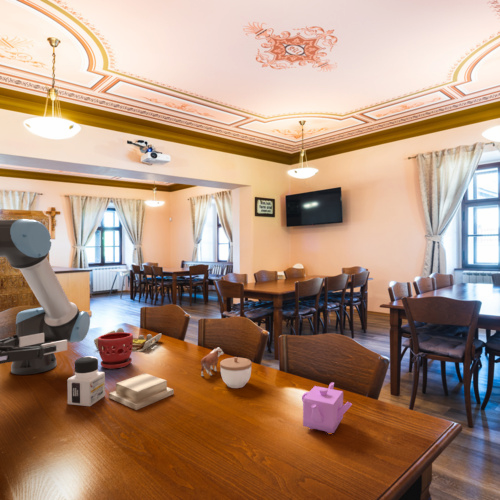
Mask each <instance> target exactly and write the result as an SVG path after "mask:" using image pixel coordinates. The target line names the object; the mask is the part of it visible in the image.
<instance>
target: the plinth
mask: <svg viewBox="0 0 500 500" xmlns="http://www.w3.org/2000/svg"><path fill="white" fill-rule="evenodd" d="M167 384H168V380H166V379H164V378H161V377H157V376H155V375H152V374H149V373H146V372H145V373H141V374H139V375H135V376H133V377H130V378H126V379H124V380H122V381H118V382H116V383H115V390H114V391H111V392H108V399H111V400H114V401H115V402H117V403H119V404H122V405H123V406H126V407H129V408H131V409H132V410H135V411H138V410H140V409H142V408H145V407H147V406H149V405H152V404H154V403H157V402H158V401H161V400H163V399H165V398H168V397H170V396H172V395H174V389H173V388H170V387H168V385H167Z"/></svg>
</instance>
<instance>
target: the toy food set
mask: <svg viewBox="0 0 500 500" xmlns="http://www.w3.org/2000/svg"><path fill="white" fill-rule="evenodd" d="M119 332H125V330H124V328H123V327H119V328H117V330H111V331H109V332H107V333H104V334H103V335H105V334H110V333H119ZM161 338H162V333H158V334H156V335H155V336H153V335H152V334H150V333H149V334H147V335H146V338H145V336H144V335H143V334H140V335H138V338H135V337H133V348H132V352H135V353H141V352H143V351H145V350H146V349H148V348H149V347H151V346H153V345H154V344H156V343H157V342H159V340H160V339H161ZM93 342H94V345H95V348H96V349H97V350H98V337H96V338H94V339H93ZM123 346H125V345H123ZM112 348H113V347H112ZM102 350H103V346H102ZM132 352H131V353H132Z"/></svg>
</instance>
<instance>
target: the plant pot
mask: <svg viewBox="0 0 500 500" xmlns="http://www.w3.org/2000/svg"><path fill="white" fill-rule="evenodd" d="M104 334H105V335H104ZM104 334H103V335H100V336H98V337H97V338H98V349H97V350H98V353H99V357H100V358H101V361H100V366H101V367H102V368H104V369H111V370H113V369H114V370H115V369H121V368H125V367H127V366H128V365H130V364H131V362H132V360H133V359H132V357H131V354H132V348H133V338H134V335H133V333H132V332H125V331H124V332H119V333H110V334H107V333H104ZM123 345H125V346H123ZM102 346H103V350H102ZM112 347H113V348H112Z"/></svg>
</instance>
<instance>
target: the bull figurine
mask: <svg viewBox="0 0 500 500" xmlns="http://www.w3.org/2000/svg"><path fill="white" fill-rule="evenodd" d="M221 355H224V351H223V349H222V348H220V347H215V348H213V350H212V351H210V352H209V353H208V354H206V355H204V357H202V359H200V365H201V369H200V373H201V374H200V377H204V371H205V372H206V374H208V375H209V376H213V373H212V372H211V370H213V371H214V372H218V370H217V366H218V363H219V357H220V356H221ZM213 366H214V368H213Z"/></svg>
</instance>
